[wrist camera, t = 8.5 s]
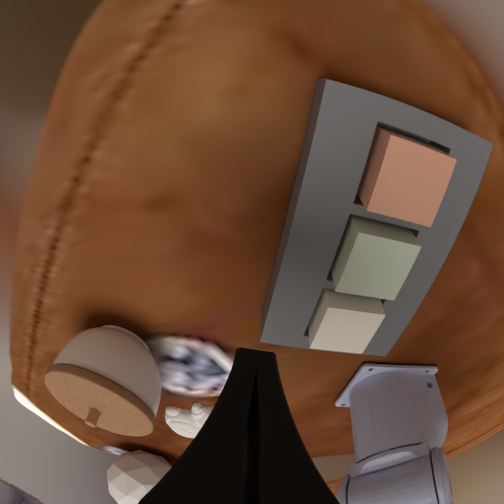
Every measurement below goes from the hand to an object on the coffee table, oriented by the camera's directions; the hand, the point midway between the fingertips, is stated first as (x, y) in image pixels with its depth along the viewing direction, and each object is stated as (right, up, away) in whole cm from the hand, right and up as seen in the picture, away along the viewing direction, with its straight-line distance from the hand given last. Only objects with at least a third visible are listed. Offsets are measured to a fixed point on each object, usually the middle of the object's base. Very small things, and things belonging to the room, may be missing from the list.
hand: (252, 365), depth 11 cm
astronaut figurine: (-6, -17, +25) cm, 30 cm away
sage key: (+7, +5, +7) cm, 11 cm away
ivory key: (+6, +1, +9) cm, 11 cm away
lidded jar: (-13, -5, +17) cm, 22 cm away
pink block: (+8, +9, +4) cm, 12 cm away
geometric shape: (-20, -36, +38) cm, 56 cm away
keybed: (+7, +6, +8) cm, 12 cm away
